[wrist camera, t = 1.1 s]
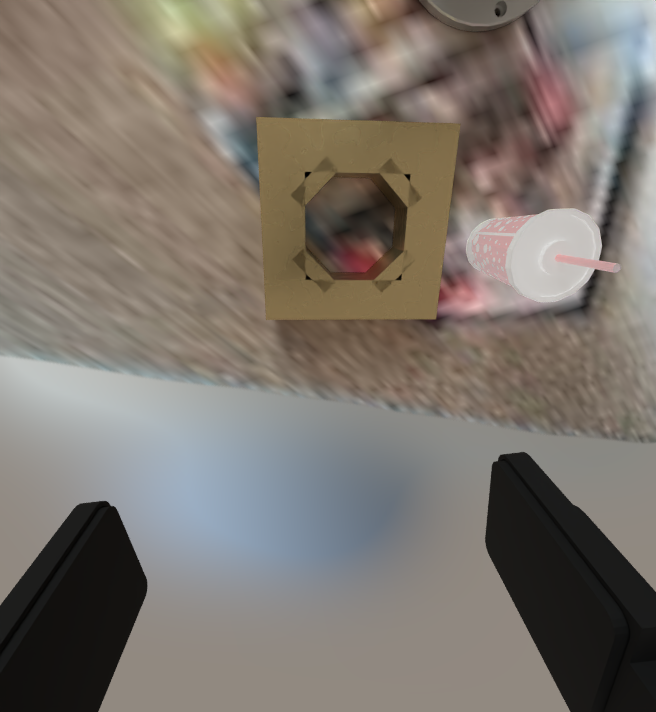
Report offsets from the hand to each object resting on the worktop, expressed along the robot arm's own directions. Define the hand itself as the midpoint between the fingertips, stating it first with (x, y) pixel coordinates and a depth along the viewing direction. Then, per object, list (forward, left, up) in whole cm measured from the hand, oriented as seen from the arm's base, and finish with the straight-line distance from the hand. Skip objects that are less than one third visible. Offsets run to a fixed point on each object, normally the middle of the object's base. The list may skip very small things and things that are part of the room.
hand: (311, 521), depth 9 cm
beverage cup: (-15, +8, -26) cm, 31 cm away
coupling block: (-7, -2, -26) cm, 27 cm away
